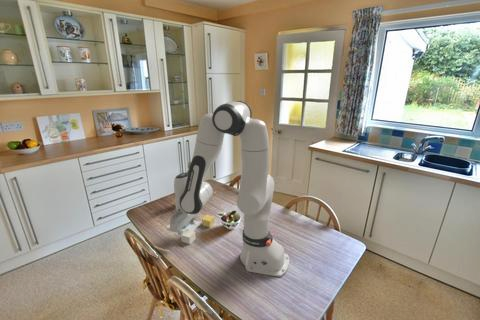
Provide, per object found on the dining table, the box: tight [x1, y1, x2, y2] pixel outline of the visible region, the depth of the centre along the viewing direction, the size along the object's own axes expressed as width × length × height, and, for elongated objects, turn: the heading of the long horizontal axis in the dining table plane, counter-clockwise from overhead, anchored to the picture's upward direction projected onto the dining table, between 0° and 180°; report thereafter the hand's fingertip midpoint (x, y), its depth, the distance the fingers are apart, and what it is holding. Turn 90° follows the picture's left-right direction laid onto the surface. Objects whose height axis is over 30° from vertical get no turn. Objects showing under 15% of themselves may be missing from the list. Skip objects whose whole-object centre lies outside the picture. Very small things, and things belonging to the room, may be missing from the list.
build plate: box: [166, 219, 202, 233], centre depth 134 cm, size 16×12×1 cm
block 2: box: [201, 214, 216, 228], centre depth 134 cm, size 5×5×5 cm
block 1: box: [180, 229, 197, 245], centre depth 121 cm, size 5×5×5 cm
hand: (186, 229), depth 120 cm, fingers open, 8 cm apart
